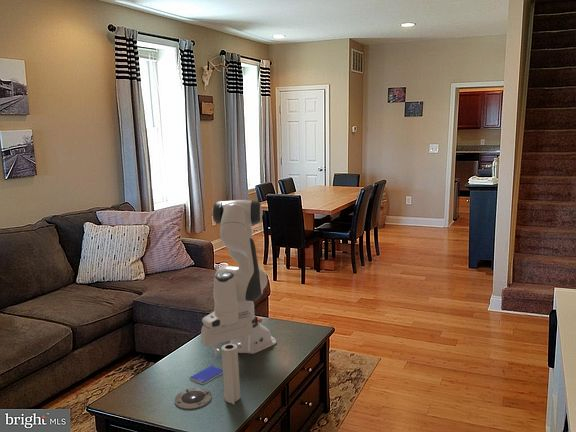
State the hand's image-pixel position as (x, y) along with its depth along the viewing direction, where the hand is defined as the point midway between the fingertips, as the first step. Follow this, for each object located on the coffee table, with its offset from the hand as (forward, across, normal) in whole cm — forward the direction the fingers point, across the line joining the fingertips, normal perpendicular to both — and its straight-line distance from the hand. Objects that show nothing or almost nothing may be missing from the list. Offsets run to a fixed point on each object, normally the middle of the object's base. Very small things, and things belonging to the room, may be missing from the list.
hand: (228, 350), depth 190 cm
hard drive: (+20, 0, -23) cm, 31 cm away
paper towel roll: (+20, 0, 0) cm, 20 cm away
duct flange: (+20, +12, -9) cm, 25 cm away
